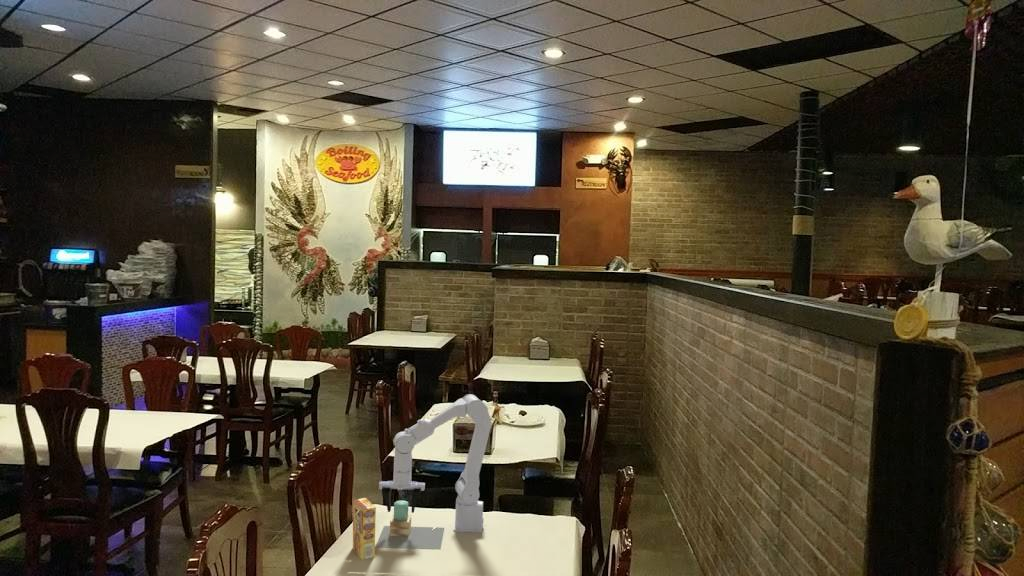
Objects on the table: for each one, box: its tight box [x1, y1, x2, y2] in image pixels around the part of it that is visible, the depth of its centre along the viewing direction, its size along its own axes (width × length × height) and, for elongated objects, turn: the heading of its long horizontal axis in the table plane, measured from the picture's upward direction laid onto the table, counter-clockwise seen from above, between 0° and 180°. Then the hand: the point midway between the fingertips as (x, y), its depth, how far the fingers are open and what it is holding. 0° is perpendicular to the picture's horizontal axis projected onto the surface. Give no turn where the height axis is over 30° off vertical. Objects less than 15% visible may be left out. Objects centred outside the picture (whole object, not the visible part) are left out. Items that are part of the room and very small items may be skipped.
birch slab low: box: [390, 523, 412, 536], centre depth 206 cm, size 6×6×2 cm
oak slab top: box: [389, 513, 412, 529], centre depth 206 cm, size 6×6×2 cm
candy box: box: [352, 497, 377, 561], centre depth 191 cm, size 9×4×15 cm, turn 33°
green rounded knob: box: [393, 500, 409, 521], centre depth 206 cm, size 5×5×5 cm
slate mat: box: [375, 525, 445, 550], centre depth 203 cm, size 20×16×1 cm
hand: (401, 511), depth 206 cm, fingers open, 7 cm apart
